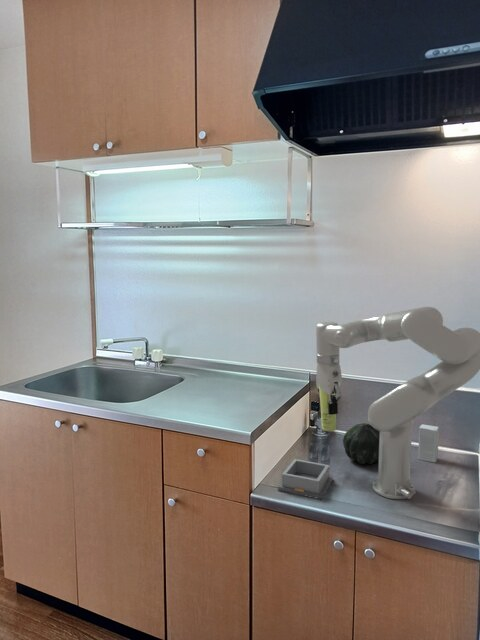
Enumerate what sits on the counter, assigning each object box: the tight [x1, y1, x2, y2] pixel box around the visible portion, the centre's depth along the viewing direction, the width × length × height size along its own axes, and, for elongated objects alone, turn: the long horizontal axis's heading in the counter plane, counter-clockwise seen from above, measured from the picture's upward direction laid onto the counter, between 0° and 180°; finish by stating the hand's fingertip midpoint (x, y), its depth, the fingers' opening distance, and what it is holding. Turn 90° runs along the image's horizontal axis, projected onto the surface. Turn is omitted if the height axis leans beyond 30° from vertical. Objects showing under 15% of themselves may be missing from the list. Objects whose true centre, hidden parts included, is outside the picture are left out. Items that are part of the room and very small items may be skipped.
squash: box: [342, 422, 380, 465], centre depth 177 cm, size 14×15×15 cm
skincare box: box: [417, 424, 440, 463], centre depth 177 cm, size 6×4×12 cm
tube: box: [319, 385, 337, 432], centre depth 168 cm, size 6×5×20 cm
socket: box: [277, 458, 334, 499], centre depth 160 cm, size 14×14×5 cm
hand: (328, 410), depth 169 cm, fingers closed on tube, 5 cm apart
